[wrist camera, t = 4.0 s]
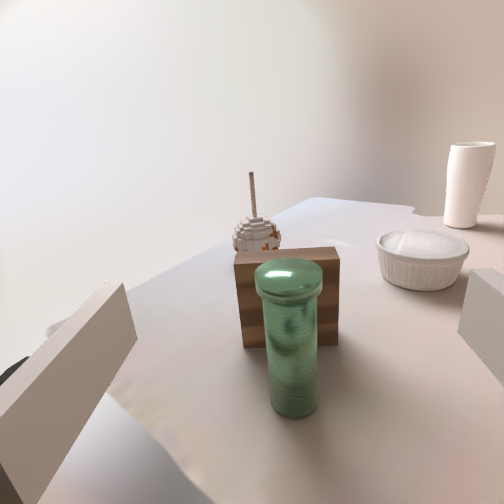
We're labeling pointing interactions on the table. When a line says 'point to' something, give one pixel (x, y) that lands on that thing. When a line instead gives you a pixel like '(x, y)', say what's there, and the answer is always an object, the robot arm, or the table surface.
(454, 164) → the drinking glass
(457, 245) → the ramekin
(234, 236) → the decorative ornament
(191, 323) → the table surface
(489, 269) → the robot arm
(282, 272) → the green tall capped cylinder
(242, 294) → the brown striped block
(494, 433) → the table surface
